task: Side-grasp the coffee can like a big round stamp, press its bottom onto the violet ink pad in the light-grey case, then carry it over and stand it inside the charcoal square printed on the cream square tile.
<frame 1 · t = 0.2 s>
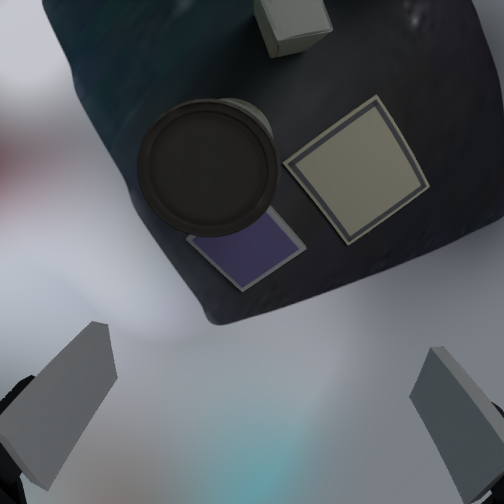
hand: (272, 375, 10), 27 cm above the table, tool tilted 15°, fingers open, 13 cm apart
ink pad: (246, 240, 38), on the table
coffee can: (228, 140, 32), on the table
skincare box: (281, 32, 25), on the table
cream square tile: (363, 173, 33), on the table
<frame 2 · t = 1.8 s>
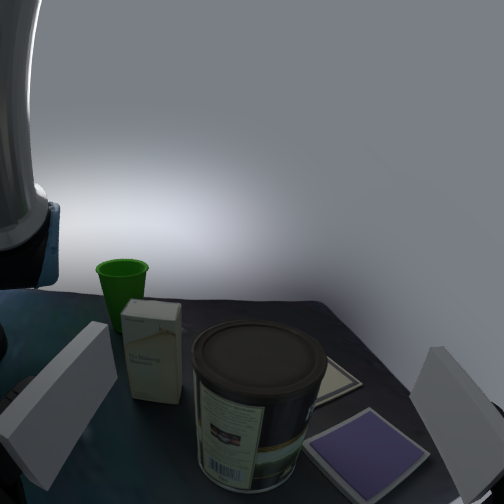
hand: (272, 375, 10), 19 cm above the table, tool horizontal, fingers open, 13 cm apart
ink pad: (366, 456, 24), on the table
coffee can: (246, 456, 25), on the table
skincare box: (158, 392, 33), on the table
cup: (127, 326, 47), on the table
cream square tile: (295, 374, 39), on the table
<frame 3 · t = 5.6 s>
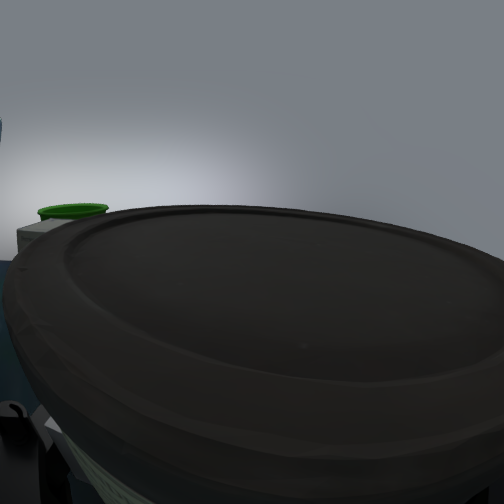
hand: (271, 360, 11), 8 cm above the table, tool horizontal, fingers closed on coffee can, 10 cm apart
skincare box: (97, 392, 17), on the table
cup: (79, 297, 32), on the table
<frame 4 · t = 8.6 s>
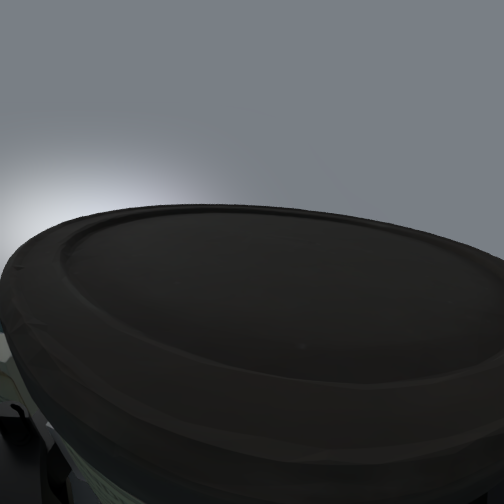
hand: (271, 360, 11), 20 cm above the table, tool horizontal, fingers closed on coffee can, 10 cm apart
skincare box: (33, 429, 21), on the table
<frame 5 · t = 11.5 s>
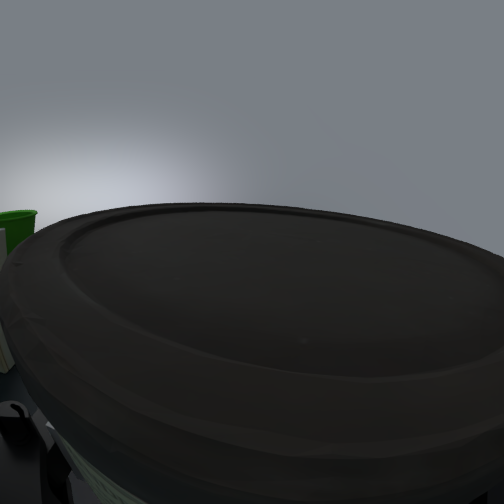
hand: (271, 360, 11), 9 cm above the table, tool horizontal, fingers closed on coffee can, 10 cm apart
cup: (18, 289, 33), on the table
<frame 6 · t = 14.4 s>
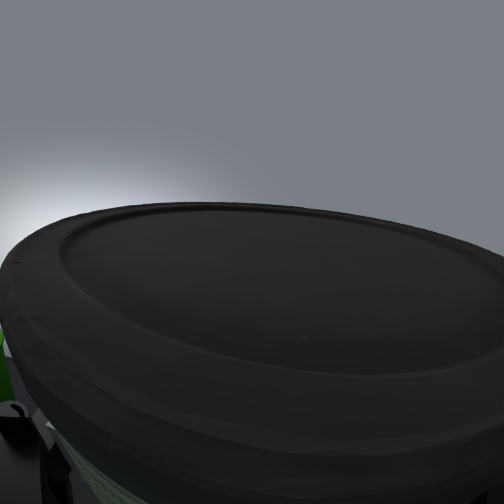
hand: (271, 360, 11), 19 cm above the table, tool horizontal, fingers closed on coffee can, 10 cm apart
cup: (4, 418, 20), on the table
when the fingers open (9 cm above the table, at t = 17.0 s): coffee can drops 1 cm, resting on cream square tile.
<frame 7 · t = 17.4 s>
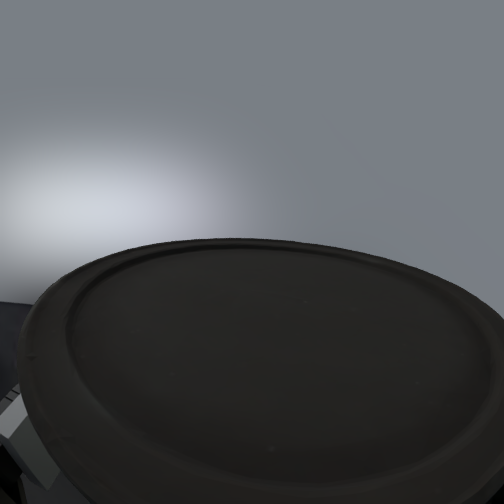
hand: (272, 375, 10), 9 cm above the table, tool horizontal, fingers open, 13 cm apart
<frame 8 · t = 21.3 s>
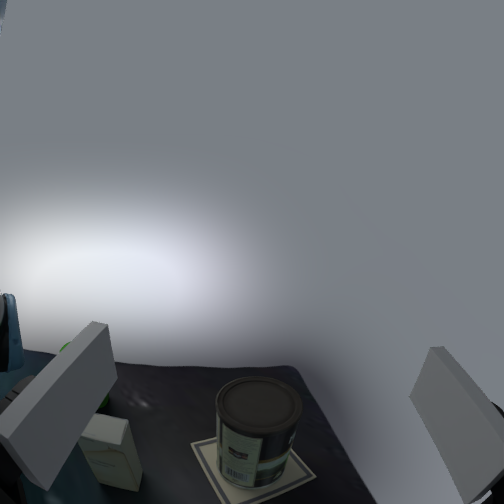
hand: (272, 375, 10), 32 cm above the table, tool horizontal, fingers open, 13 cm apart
coffee can: (250, 464, 35), resting on cream square tile
skincare box: (122, 477, 29), on the table
cream square tile: (251, 464, 35), on the table
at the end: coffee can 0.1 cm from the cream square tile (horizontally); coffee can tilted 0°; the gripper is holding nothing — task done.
